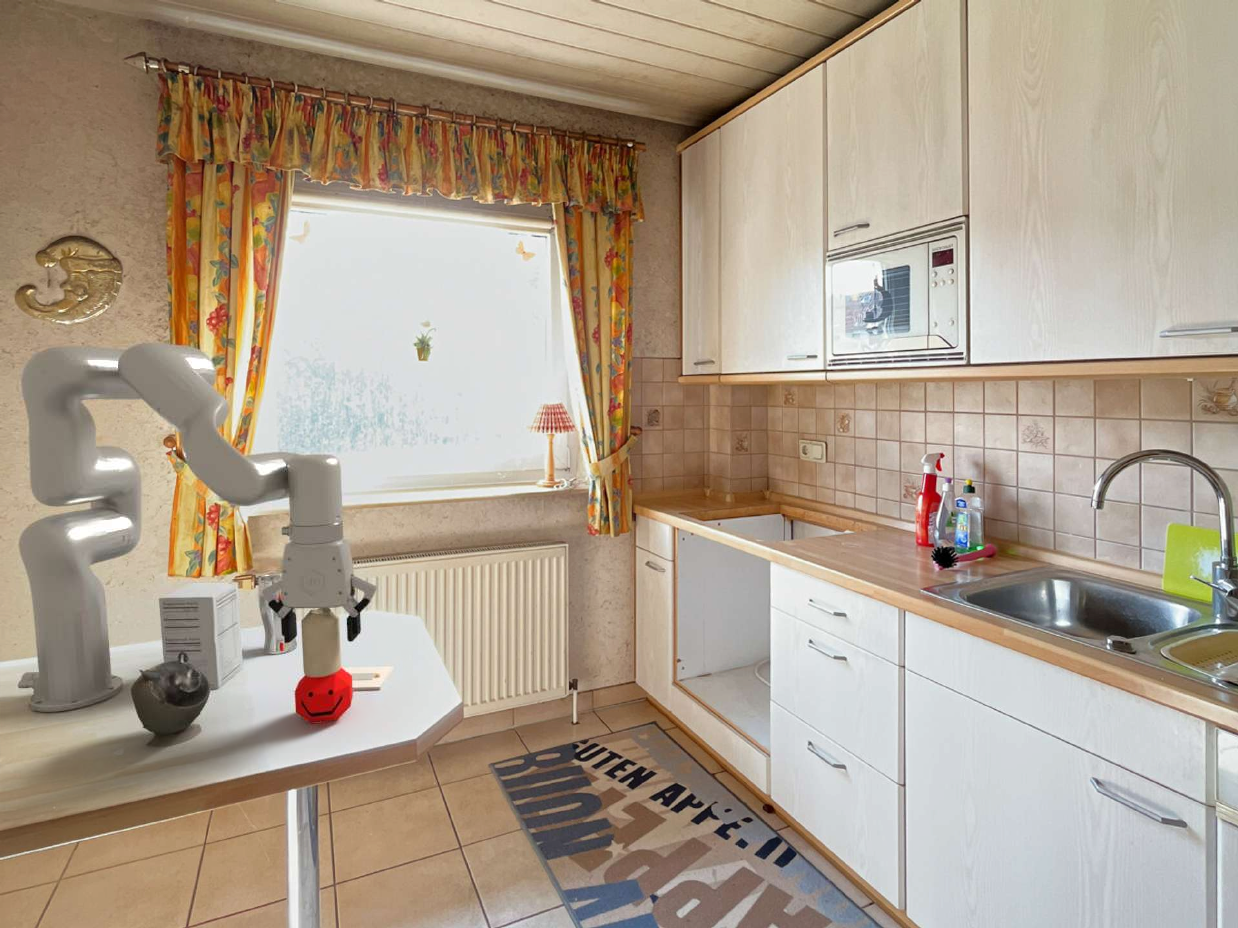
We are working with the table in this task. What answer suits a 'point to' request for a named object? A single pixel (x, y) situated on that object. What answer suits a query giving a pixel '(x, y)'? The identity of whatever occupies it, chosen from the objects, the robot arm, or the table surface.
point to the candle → (321, 643)
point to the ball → (324, 697)
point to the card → (369, 677)
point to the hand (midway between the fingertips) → (322, 639)
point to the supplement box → (204, 629)
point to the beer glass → (272, 619)
